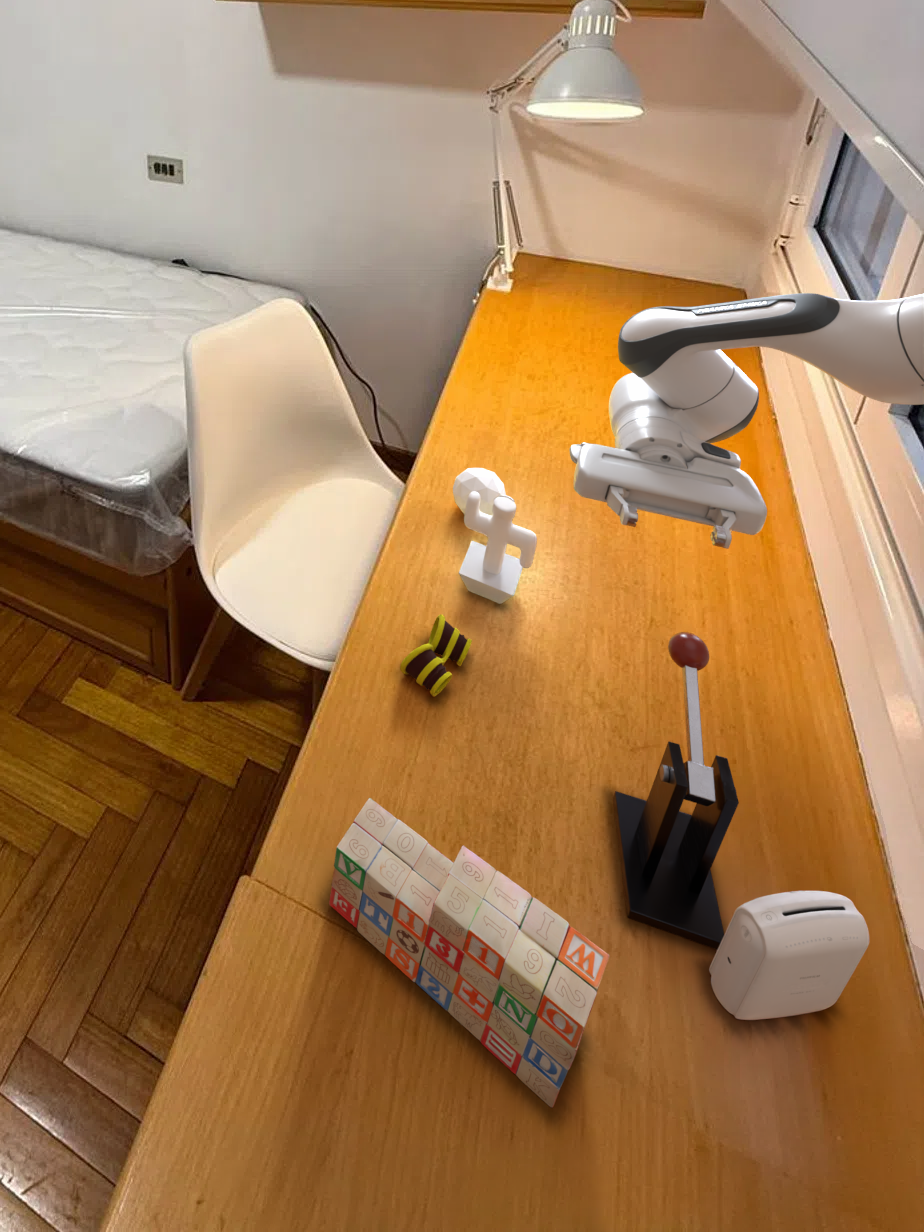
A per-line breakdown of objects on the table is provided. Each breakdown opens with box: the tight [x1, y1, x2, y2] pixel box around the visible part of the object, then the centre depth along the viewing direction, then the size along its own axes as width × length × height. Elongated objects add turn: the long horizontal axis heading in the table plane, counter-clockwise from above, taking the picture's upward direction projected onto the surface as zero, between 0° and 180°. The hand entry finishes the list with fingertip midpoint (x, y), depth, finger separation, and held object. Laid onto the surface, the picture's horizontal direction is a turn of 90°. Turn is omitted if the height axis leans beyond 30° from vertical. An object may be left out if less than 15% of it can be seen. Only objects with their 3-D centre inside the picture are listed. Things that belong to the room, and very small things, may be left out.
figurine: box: [458, 491, 538, 605], centre depth 113 cm, size 7×9×15 cm
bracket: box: [612, 741, 740, 951], centre depth 80 cm, size 12×8×15 cm, turn 160°
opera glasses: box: [399, 613, 473, 698], centre depth 103 cm, size 10×5×5 cm, turn 137°
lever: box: [667, 631, 716, 806], centre depth 82 cm, size 15×4×4 cm, turn 160°
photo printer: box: [708, 890, 870, 1021], centre depth 72 cm, size 10×4×12 cm, turn 96°
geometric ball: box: [452, 467, 507, 516], centre depth 128 cm, size 8×8×8 cm
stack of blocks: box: [328, 797, 610, 1108], centre depth 73 cm, size 21×6×12 cm, turn 48°
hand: (675, 532), depth 95 cm, fingers open, 8 cm apart
